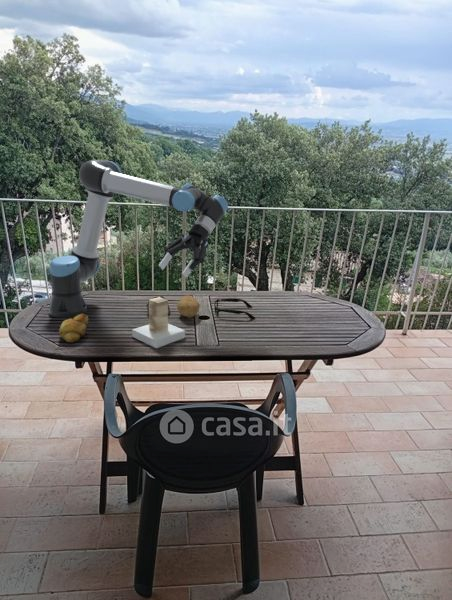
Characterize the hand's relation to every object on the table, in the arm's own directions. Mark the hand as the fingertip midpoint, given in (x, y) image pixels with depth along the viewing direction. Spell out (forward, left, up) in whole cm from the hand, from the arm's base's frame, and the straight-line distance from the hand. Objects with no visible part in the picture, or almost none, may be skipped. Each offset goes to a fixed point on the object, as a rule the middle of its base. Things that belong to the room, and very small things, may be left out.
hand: (172, 271), depth 162 cm
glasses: (+4, +33, -24) cm, 41 cm away
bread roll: (-18, -33, -24) cm, 45 cm away
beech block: (+3, -9, -21) cm, 23 cm away
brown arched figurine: (-18, +9, -24) cm, 31 cm away
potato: (-6, +15, -24) cm, 29 cm away
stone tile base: (+3, -9, -24) cm, 26 cm away
